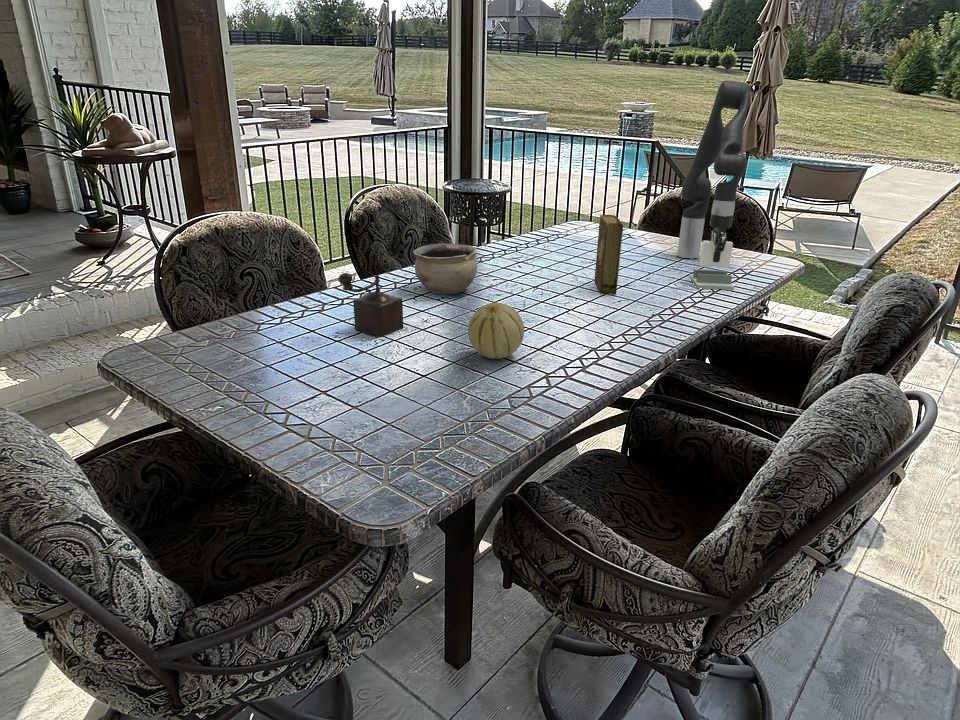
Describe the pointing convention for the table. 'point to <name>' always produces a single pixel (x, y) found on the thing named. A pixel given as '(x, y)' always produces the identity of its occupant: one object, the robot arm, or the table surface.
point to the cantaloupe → (496, 330)
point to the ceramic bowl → (445, 267)
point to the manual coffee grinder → (375, 309)
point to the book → (608, 254)
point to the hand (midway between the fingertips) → (714, 260)
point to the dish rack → (711, 279)
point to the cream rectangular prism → (708, 254)
